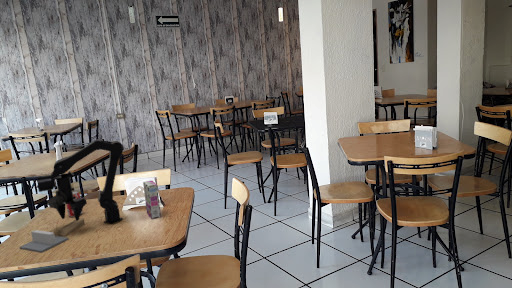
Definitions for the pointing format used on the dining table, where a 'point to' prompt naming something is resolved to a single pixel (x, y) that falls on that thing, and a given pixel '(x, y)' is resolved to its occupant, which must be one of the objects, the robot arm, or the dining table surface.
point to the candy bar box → (152, 199)
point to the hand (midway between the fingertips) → (70, 219)
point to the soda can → (70, 211)
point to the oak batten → (70, 227)
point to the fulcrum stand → (43, 241)
